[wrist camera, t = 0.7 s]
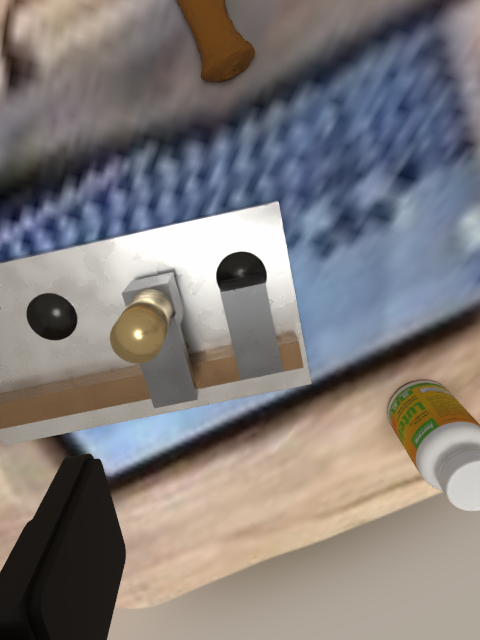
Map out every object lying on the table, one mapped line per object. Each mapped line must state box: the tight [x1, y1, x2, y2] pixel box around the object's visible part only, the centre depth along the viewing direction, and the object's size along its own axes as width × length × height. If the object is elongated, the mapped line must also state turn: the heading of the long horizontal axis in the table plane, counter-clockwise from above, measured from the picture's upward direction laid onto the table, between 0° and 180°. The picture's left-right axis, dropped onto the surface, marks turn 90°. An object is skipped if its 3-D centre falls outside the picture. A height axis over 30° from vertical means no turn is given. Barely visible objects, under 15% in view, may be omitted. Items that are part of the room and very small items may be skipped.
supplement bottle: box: [388, 381, 480, 511], centre depth 34 cm, size 5×5×10 cm
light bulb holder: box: [110, 272, 199, 408], centre depth 29 cm, size 3×8×8 cm, turn 12°
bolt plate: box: [0, 200, 311, 445], centre depth 33 cm, size 25×14×4 cm, turn 102°
